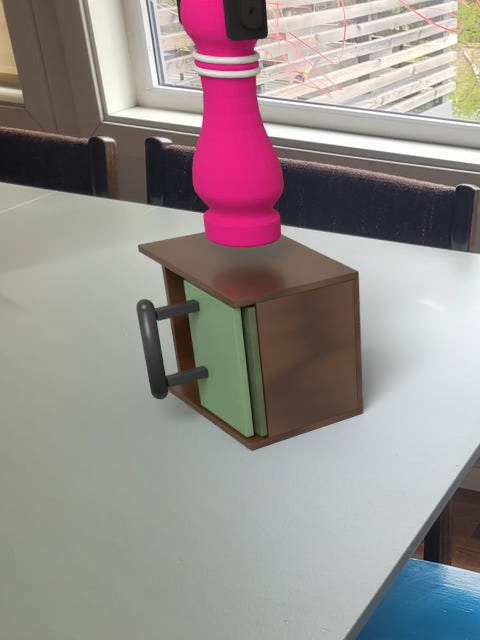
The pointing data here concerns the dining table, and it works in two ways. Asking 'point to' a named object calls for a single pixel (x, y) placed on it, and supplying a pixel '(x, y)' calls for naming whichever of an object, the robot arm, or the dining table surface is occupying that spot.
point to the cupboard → (274, 330)
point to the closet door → (203, 354)
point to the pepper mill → (231, 135)
